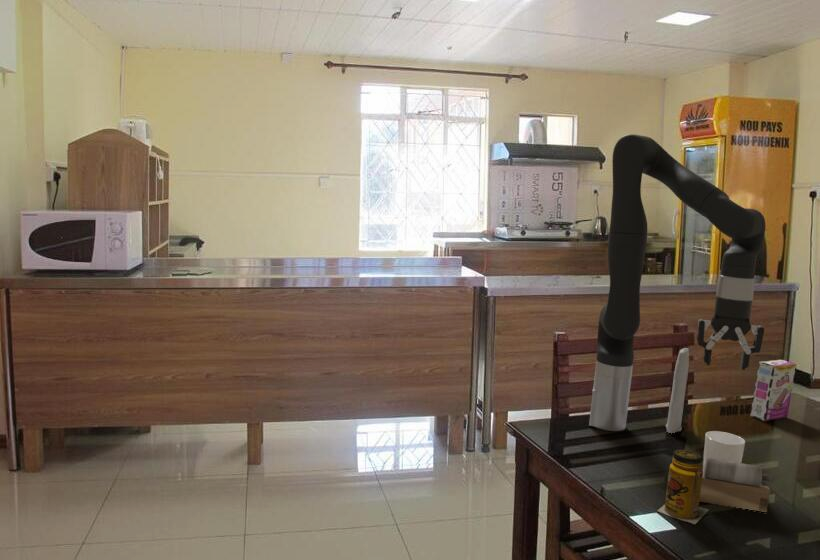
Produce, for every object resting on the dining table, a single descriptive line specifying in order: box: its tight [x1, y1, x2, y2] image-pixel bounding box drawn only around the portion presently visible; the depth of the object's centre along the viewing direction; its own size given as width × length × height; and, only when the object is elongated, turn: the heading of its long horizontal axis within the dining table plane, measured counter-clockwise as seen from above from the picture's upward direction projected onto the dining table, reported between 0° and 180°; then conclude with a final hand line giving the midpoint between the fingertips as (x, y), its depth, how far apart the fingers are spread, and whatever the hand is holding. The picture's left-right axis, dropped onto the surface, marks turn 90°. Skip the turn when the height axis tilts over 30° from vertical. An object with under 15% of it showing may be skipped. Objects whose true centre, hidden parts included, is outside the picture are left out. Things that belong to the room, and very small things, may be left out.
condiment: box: [656, 449, 710, 525], centre depth 134 cm, size 7×8×12 cm
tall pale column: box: [665, 347, 690, 435], centre depth 181 cm, size 11×4×22 cm, turn 148°
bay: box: [699, 458, 775, 513], centre depth 145 cm, size 18×14×9 cm
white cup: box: [702, 430, 746, 475], centre depth 150 cm, size 8×8×10 cm
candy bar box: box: [749, 359, 797, 422], centre depth 198 cm, size 11×5×16 cm, turn 120°
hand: (725, 366), depth 159 cm, fingers open, 7 cm apart
